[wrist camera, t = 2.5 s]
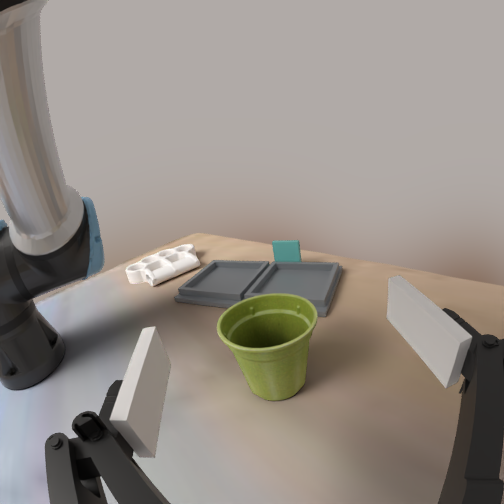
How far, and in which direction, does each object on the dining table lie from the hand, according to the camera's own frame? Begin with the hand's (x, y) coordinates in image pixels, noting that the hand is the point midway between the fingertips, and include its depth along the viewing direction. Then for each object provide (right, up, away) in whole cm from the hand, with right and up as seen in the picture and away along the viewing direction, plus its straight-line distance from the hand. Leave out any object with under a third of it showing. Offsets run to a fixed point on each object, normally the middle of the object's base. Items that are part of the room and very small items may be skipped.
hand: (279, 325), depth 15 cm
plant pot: (+1, -10, +15) cm, 18 cm away
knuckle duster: (-22, -1, +52) cm, 56 cm away
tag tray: (0, -2, +36) cm, 36 cm away
